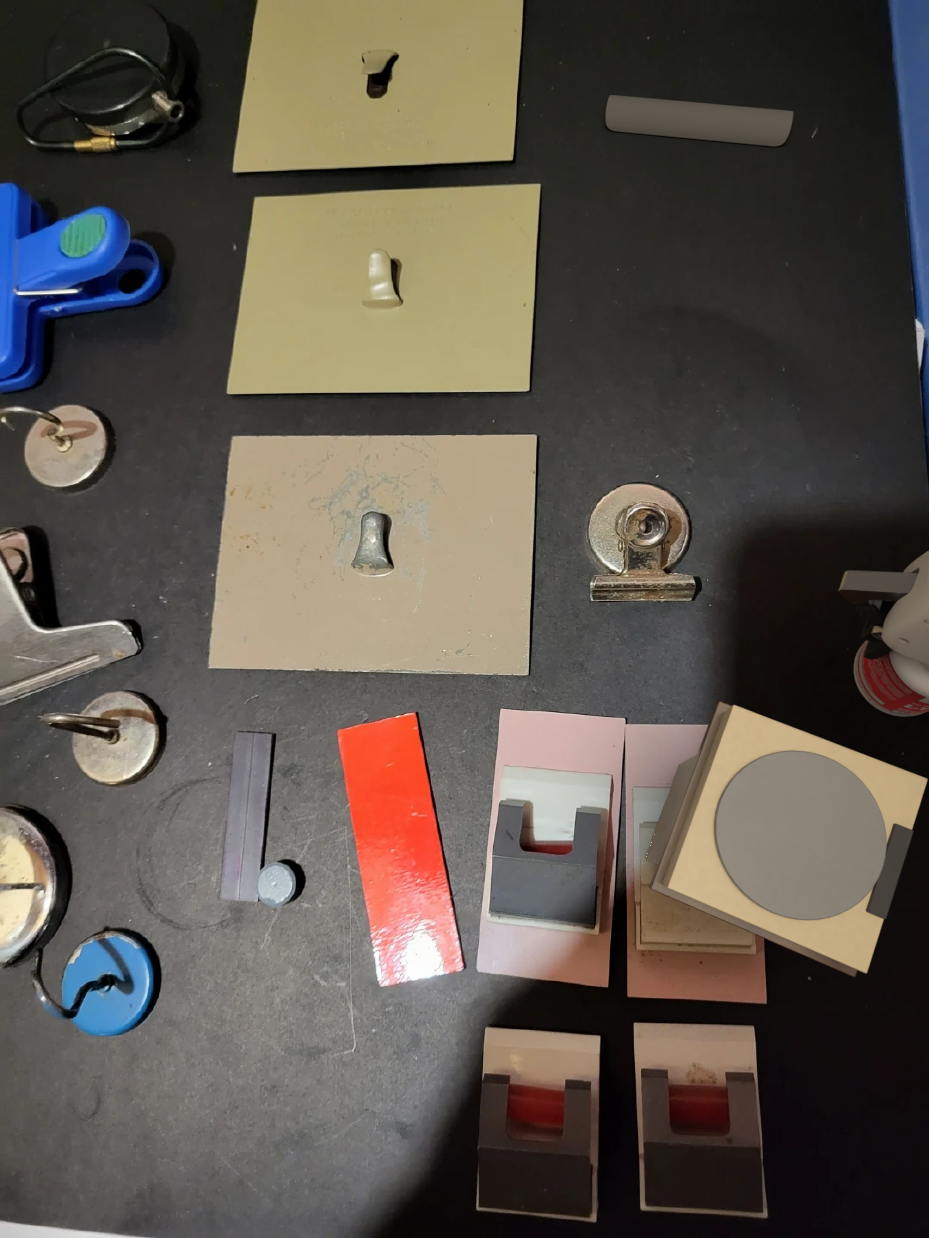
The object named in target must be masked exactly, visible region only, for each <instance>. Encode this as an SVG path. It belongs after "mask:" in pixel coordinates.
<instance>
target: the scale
mask: <svg viewBox="0 0 929 1238" xmlns="http://www.w3.org/2000/svg"><path fill="white" fill-rule="evenodd" d="M927 783H928V778H926V777H924V776H921V775H918V774H916V773H914V772H911V771H908V770H906V769H903V768H901V767H898V766H895V765H893V764H890V763H887V762H885V761H883V760H879V759H877V758H874V757H871V756H869V755H866V754H864V753H861V752H858V751H856V750H854V749H851V748H848V747H846V746H843V745H841V744H837V743H836V742H832V741H830V740H827V739H825V738H822V737H820V736H817V735H815V734H811V733H809V732H807V731H804V730H801V729H798V728H796V727H794V726H791V725H789V724H786V723H783V722H780V721H778V720H775V719H772V718H769V717H767V716H764V715H762V714H759V713H756V712H754V711H752V710H749V709H747V708H745V707H741V706H738V705H736V704H733V705H732V706H731V707H730V708H729V709H727V710H726V711H725V712H724V714H723V717H722V720H721V722H720V725H719V728H718V731H717V733H716V736H715V739H714V742H713V744H712V747H711V750H710V753H709V755H708V758H707V761H706V764H705V766H704V769H703V772H702V775H701V777H700V780H699V783H698V786H697V788H696V791H695V794H694V797H693V799H692V802H691V805H690V808H689V811H688V813H687V816H686V819H685V822H684V824H683V827H682V830H681V833H680V835H679V838H678V841H677V844H676V846H675V849H674V852H673V855H672V857H671V860H670V863H669V866H668V868H667V871H666V874H665V877H664V879H663V882H662V885H664V886H665V887H667V888H669V889H671V890H674V891H676V892H678V893H681V894H683V895H685V896H687V897H690V898H692V899H694V900H697V901H699V902H701V903H704V904H706V905H708V906H711V907H713V908H715V909H718V910H720V911H722V912H725V913H727V914H729V915H732V916H734V917H736V918H738V919H741V920H743V921H745V922H748V923H750V924H752V925H755V926H757V927H759V928H762V929H764V930H766V931H769V932H771V933H773V934H776V935H778V936H780V937H783V938H785V939H787V940H789V941H792V942H794V943H796V944H799V945H801V946H803V947H806V948H808V949H810V950H813V951H815V952H817V953H820V954H822V955H824V956H827V957H829V958H831V959H834V960H836V961H838V962H840V963H843V964H845V965H847V966H850V967H852V968H854V969H857V971H859V972H861V973H864V974H868V972H869V968H870V965H871V962H872V958H873V955H874V952H875V948H876V946H877V944H878V943H877V942H878V939H879V936H880V933H881V930H882V926H883V923H884V920H887V917H888V914H889V911H890V908H891V905H892V902H893V898H894V895H895V892H896V888H897V886H898V883H899V879H900V876H901V873H902V869H903V867H904V864H905V860H906V857H907V854H908V850H909V848H910V844H911V841H912V838H913V834H914V832H915V831H914V830H913V828H914V824H915V821H916V818H917V816H918V813H919V812H918V811H919V809H920V806H921V802H922V800H923V797H924V796H923V795H924V793H925V790H926V787H927Z"/></svg>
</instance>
